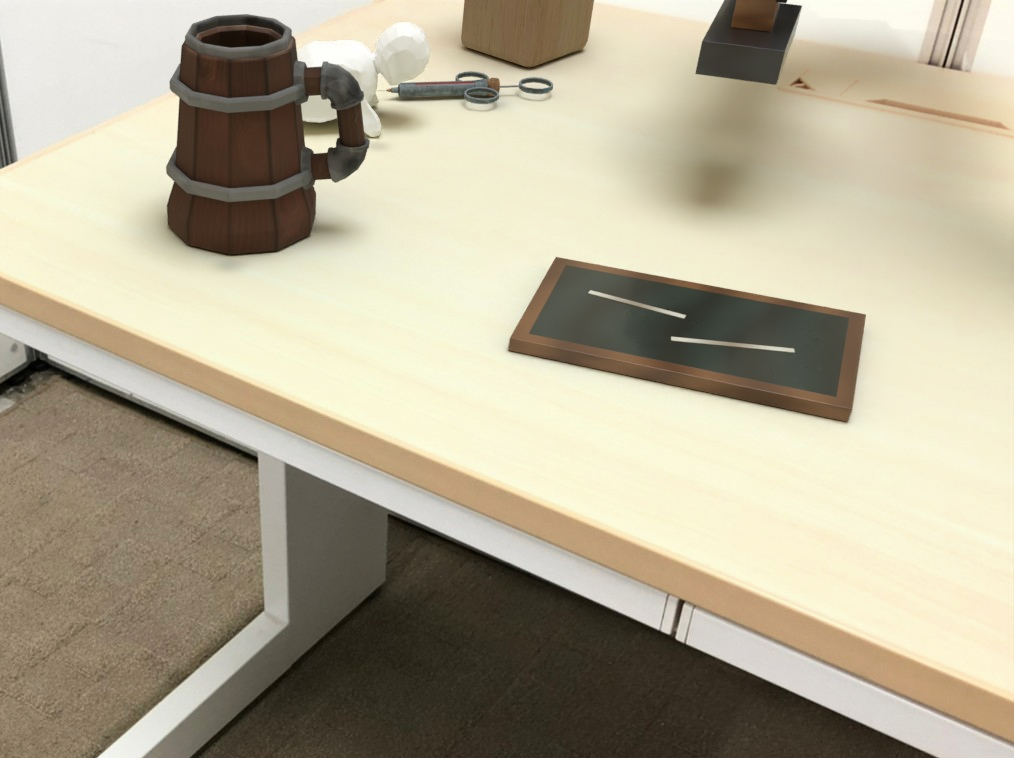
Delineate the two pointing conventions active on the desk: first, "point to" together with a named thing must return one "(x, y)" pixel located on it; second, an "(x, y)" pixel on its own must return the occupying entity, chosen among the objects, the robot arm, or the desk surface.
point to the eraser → (749, 40)
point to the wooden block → (526, 28)
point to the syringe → (467, 87)
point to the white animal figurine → (368, 68)
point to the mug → (253, 136)
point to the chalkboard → (695, 337)
